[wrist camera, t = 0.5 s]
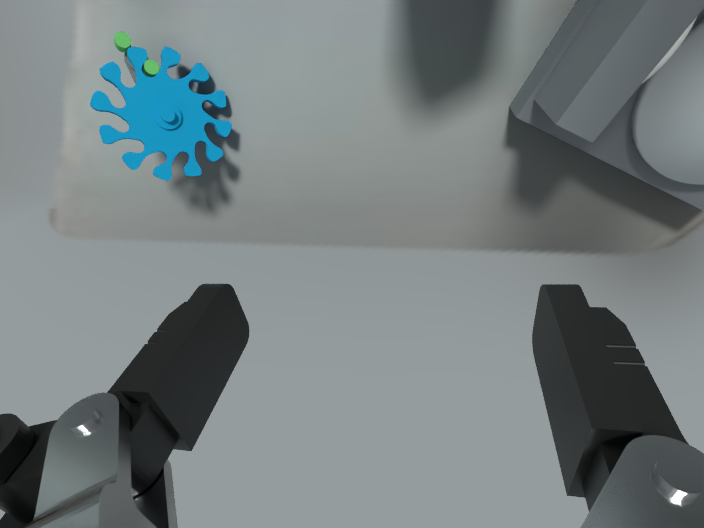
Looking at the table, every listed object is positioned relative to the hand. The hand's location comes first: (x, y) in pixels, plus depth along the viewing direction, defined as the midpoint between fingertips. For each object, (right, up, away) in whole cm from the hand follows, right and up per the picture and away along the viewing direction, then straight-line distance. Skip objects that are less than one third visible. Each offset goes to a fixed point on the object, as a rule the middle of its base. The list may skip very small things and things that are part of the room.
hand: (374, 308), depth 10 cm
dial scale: (+22, +14, +16) cm, 31 cm away
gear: (-15, +16, +24) cm, 32 cm away
